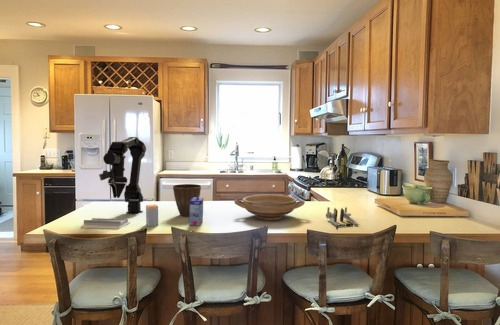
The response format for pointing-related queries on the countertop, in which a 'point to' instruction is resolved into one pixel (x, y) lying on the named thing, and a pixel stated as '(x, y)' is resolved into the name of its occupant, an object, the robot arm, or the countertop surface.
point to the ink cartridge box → (196, 211)
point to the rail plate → (105, 223)
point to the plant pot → (185, 196)
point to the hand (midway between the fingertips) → (116, 197)
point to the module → (151, 215)
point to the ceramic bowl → (269, 205)
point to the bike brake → (342, 215)
